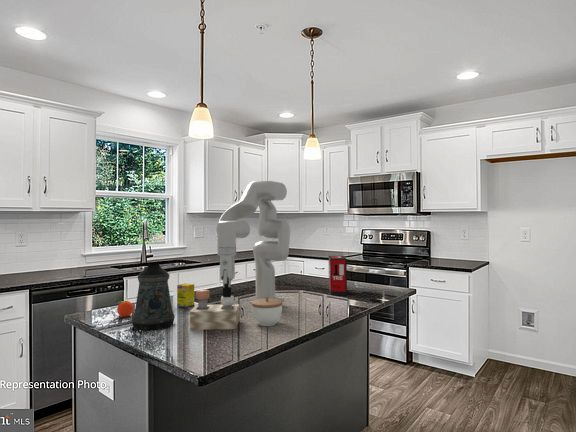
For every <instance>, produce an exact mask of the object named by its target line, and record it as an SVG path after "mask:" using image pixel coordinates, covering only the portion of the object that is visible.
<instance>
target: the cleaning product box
mask: <svg viewBox="0 0 576 432" xmlns="http://www.w3.org/2000/svg"><path fill="white" fill-rule="evenodd" d="M347 260H348V259H347V257H345V255H328V291H329V294H330V296H348V274H347V273H348V272H347V271H348V263H347V262H348V261H347Z"/></svg>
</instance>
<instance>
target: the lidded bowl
mask: <svg viewBox="0 0 576 432" xmlns="http://www.w3.org/2000/svg"><path fill="white" fill-rule="evenodd" d="M282 311H283V302H282V301H281V300H279V299H271V298H268V297H266V298H265V299H257V300H256V299H254V300H252V301H251V313H252V316H253V319H254V320H255V322H257V324H258V325H259V326H261V327H272V326H276V325H277V323H278V322H279V320H280V319H281V316H282Z"/></svg>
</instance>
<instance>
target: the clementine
mask: <svg viewBox="0 0 576 432" xmlns="http://www.w3.org/2000/svg"><path fill="white" fill-rule="evenodd" d="M117 304H118V305H117ZM116 305H117V307H116V311H117V314H118V315H119V316H121V317H123V318H126V317H129V316H131V315H132V314H134V311H135V308H134V304H133V303H132V302H131V301H130V300H123V301H119V302H117V303H116Z"/></svg>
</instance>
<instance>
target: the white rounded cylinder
mask: <svg viewBox="0 0 576 432" xmlns="http://www.w3.org/2000/svg"><path fill="white" fill-rule="evenodd" d="M233 304H235V296H234V295H231V297H223V295H222V296H221V297H220V305H223V309H232V305H233Z"/></svg>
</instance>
